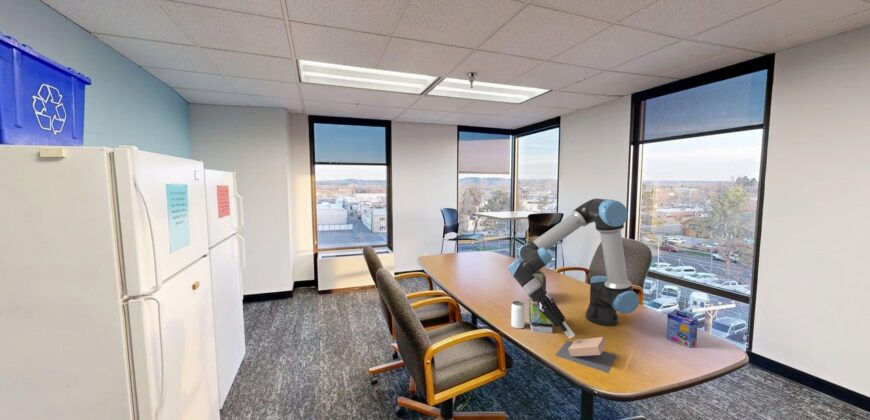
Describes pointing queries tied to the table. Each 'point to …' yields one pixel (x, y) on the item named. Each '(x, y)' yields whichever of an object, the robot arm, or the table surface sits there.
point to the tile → (587, 347)
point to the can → (518, 315)
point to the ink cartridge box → (682, 329)
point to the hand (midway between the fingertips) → (572, 336)
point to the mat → (588, 358)
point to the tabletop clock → (540, 278)
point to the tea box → (538, 318)
